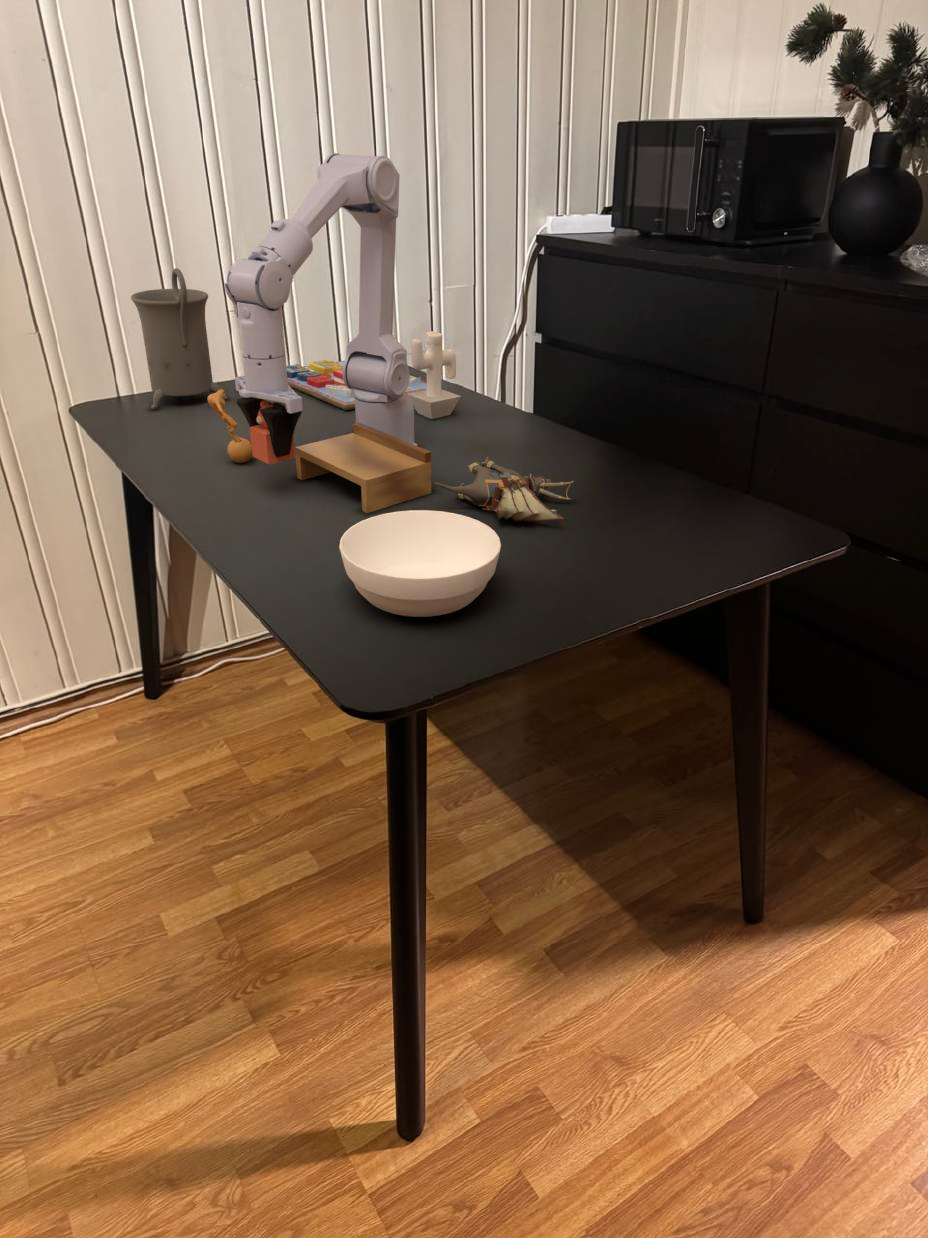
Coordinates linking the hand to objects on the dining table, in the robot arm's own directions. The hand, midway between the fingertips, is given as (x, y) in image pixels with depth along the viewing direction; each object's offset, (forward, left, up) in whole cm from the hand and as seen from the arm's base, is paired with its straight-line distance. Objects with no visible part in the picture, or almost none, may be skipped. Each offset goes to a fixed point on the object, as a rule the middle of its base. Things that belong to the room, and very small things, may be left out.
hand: (273, 450), depth 125 cm
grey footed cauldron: (-12, -53, -7) cm, 55 cm away
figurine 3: (-22, +27, -7) cm, 36 cm away
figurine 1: (-2, -16, -7) cm, 18 cm away
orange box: (0, 0, -1) cm, 1 cm away
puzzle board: (-44, -42, -7) cm, 61 cm away
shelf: (-12, +5, -7) cm, 15 cm away
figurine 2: (-44, -16, -7) cm, 47 cm away
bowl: (+4, +38, -7) cm, 39 cm away
